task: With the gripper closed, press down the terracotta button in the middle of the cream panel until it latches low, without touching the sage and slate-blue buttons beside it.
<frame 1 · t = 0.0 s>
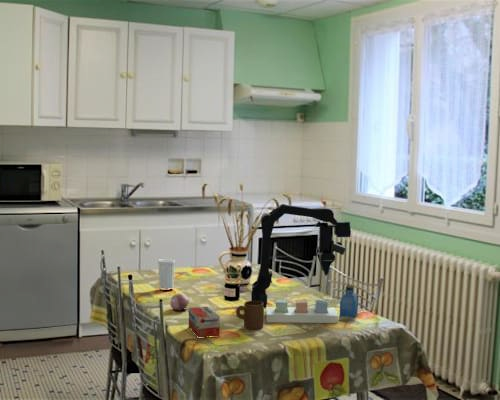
hand: (324, 273, 283), 15 cm above the table, fingers open, 9 cm apart
perfume bottle: (348, 315, 272), on the table
button terracotta: (301, 306, 265), point 5 cm above the table, slide at 0.0 cm
mug: (248, 328, 252), on the table
medicine box: (203, 333, 246), on the table
button slate: (321, 306, 265), point 5 cm above the table, slide at 0.0 cm
cup: (166, 290, 311), on the table
onion: (179, 310, 276), on the table
panel: (301, 318, 266), on the table
button sage: (281, 305, 265), point 5 cm above the table, slide at 0.0 cm
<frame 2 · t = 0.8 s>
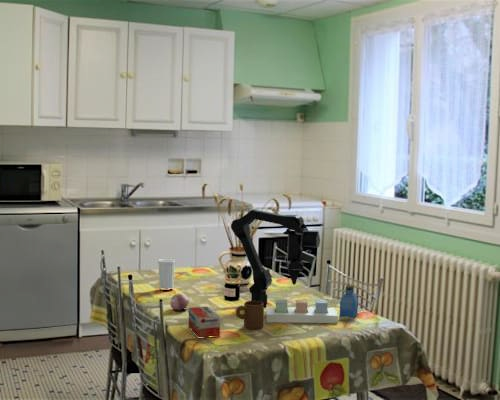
hand: (293, 281, 278), 12 cm above the table, fingers open, 9 cm apart
nothing on the table moved.
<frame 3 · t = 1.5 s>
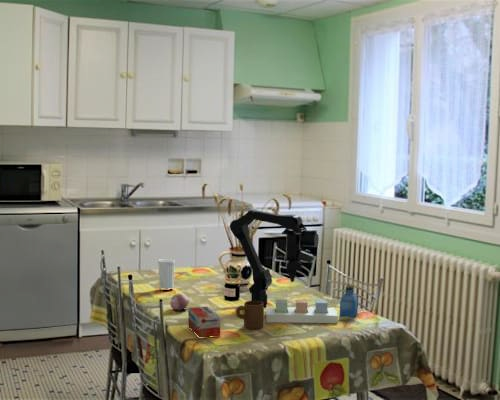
hand: (292, 281, 278), 12 cm above the table, fingers closed
nothing on the table moved.
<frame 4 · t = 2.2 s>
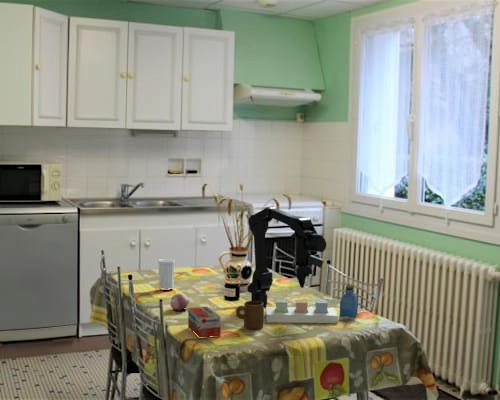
hand: (302, 287, 265), 12 cm above the table, fingers closed
nothing on the table moved.
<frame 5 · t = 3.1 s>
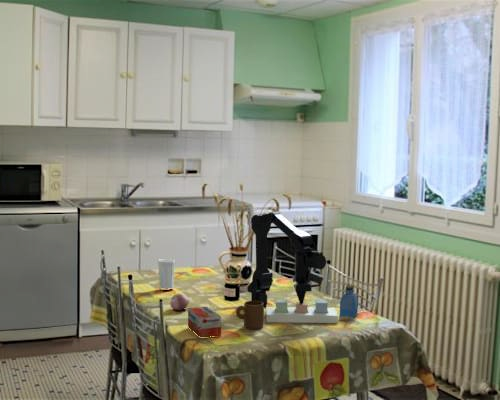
hand: (301, 303, 265), 6 cm above the table, fingers closed, pressing on button terracotta
button terracotta: (301, 308, 265), point 4 cm above the table, slide at 1.0 cm, touching gripper
everything else where it was.
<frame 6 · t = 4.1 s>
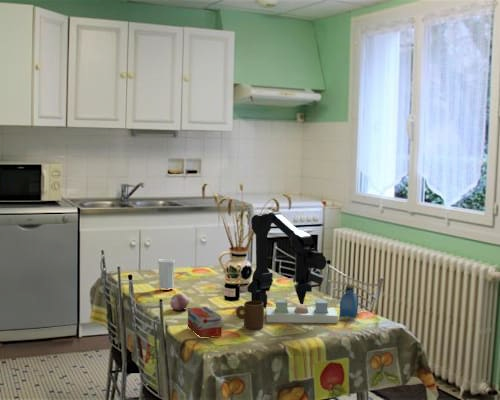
hand: (301, 304, 265), 6 cm above the table, fingers closed
button terracotta: (301, 311, 266), point 3 cm above the table, slide at 2.3 cm
everything else where it was.
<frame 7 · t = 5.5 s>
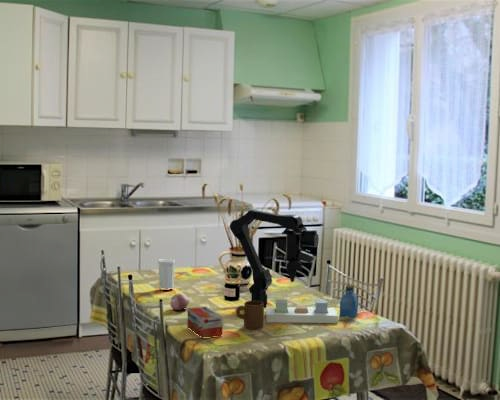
hand: (292, 281, 278), 12 cm above the table, fingers closed
nothing on the table moved.
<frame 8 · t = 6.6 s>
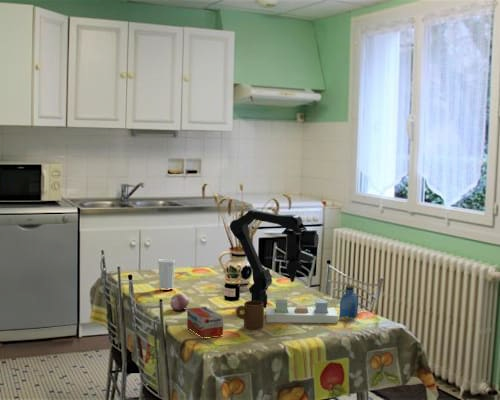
hand: (292, 281, 278), 12 cm above the table, fingers closed
nothing on the table moved.
at the end: button terracotta slide at 2.3 cm; button sage slide at 0.0 cm; button slate slide at 0.0 cm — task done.
